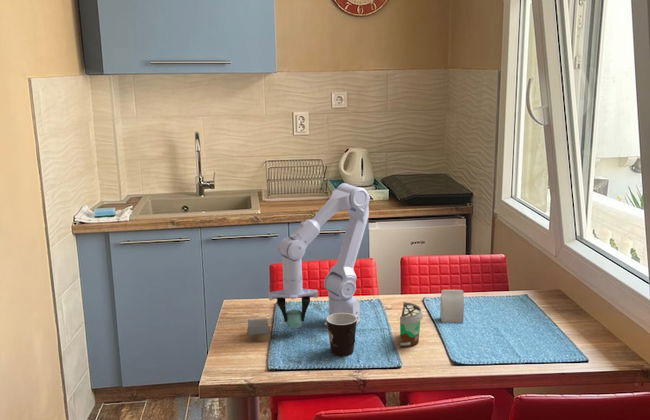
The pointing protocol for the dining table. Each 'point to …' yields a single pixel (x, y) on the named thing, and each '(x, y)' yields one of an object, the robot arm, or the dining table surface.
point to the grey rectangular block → (452, 306)
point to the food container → (410, 325)
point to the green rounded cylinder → (294, 318)
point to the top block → (257, 326)
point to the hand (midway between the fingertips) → (294, 320)
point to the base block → (259, 337)
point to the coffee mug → (342, 333)
